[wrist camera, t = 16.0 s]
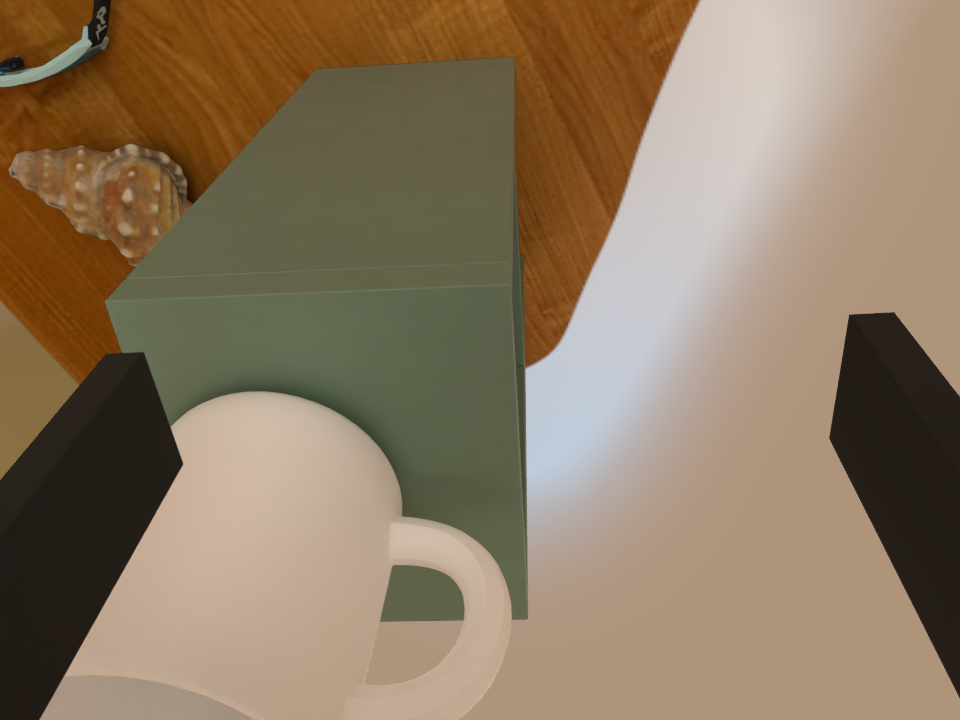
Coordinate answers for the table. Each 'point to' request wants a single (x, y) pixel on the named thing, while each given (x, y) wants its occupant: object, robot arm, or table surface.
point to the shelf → (367, 294)
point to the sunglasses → (67, 60)
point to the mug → (278, 583)
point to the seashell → (109, 192)
